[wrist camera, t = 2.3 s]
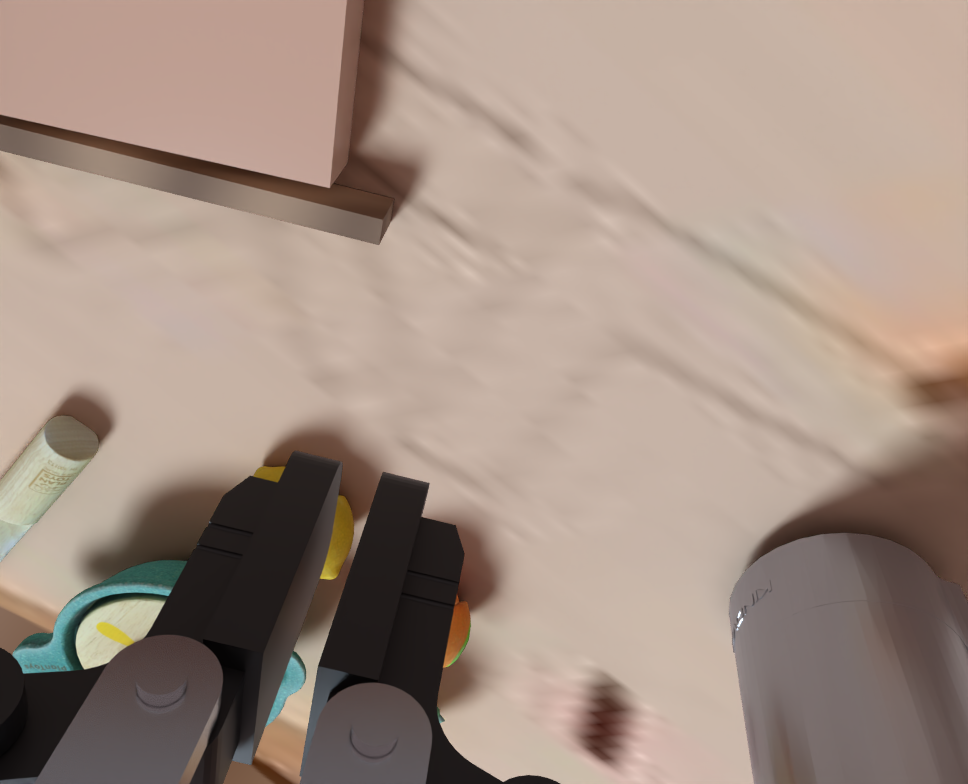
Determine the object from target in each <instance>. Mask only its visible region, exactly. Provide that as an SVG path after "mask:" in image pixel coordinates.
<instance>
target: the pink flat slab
mask: <svg viewBox="0 0 968 784" xmlns="http://www.w3.org/2000/svg"><path fill="white" fill-rule="evenodd" d="M363 9H364V0H0V115H4V116H9V117H13V118H18V119H22V120H27V121H31V122H36V123H40V124H45V125H49V126H54V127H58V128H63V129H67V130H72V131H76V132H81V133H85V134H90V135H94V136H98V137H103V138H107V139H112V140H116V141H121V142H125V143H130V144H134V145H139V146H143V147H148V148H152V149H157V150H161V151H166V152H170V153H175V154H179V155H184V156H188V157H193V158H197V159H201V160H206V161H210V162H215V163H219V164H224V165H228V166H233V167H237V168H242V169H246V170H251V171H255V172H260V173H264V174H269V175H273V176H278V177H282V178H287V179H291V180H295V181H300V182H304V183H309V184H313V185H318V186H322V187H327V188H330V187H331V186H332V184H333V183H334V181H335V180H336V179H337V177H338V176H339V174H340V173H341V172H342V170H343V169H344V167H345V166H346V164H347V163H348V156H349V147H350V137H351V127H352V117H353V107H354V97H355V88H356V78H357V68H358V58H359V48H360V38H361V29H362V19H363Z"/></svg>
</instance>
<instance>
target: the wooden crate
mask: <svg viewBox="0 0 968 784" xmlns="http://www.w3.org/2000/svg"><path fill="white" fill-rule="evenodd" d="M0 151H4V152H8V153H12V154H16V155H20V156H24V157H28V158H32V159H36V160H40V161H44V162H48V163H52V164H56V165H60V166H64V167H68V168H72V169H76V170H80V171H85V172H89V173H93V174H97V175H101V176H105V177H109V178H113V179H117V180H121V181H125V182H129V183H133V184H137V185H141V186H145V187H149V188H153V189H157V190H161V191H165V192H169V193H173V194H177V195H181V196H185V197H189V198H193V199H197V200H201V201H205V202H209V203H213V204H217V205H221V206H225V207H229V208H233V209H237V210H241V211H245V212H249V213H253V214H257V215H261V216H265V217H269V218H273V219H277V220H281V221H285V222H289V223H293V224H297V225H301V226H305V227H309V228H313V229H317V230H321V231H325V232H329V233H333V234H337V235H341V236H345V237H349V238H353V239H357V240H361V241H365V242H369V243H373V244H377V245H379V244H380V242H381V240H382V238H383V236H384V234H385V232H386V230H387V228H388V226H389V225H390V221H391V215H392V209H393V203H394V199H393V198H389V197H385V196H381V195H377V194H373V193H369V192H365V191H361V190H357V189H353V188H349V187H345V186H341V185H337V184H332V186H331V187H330V188H327V187H322V186H318V185H313V184H309V183H304V182H300V181H295V180H291V179H287V178H282V177H278V176H273V175H269V174H264V173H260V172H255V171H251V170H246V169H242V168H237V167H233V166H228V165H224V164H219V163H215V162H210V161H206V160H201V159H197V158H193V157H188V156H184V155H179V154H175V153H170V152H166V151H161V150H157V149H152V148H148V147H143V146H139V145H134V144H130V143H125V142H121V141H116V140H112V139H107V138H103V137H98V136H94V135H90V134H85V133H81V132H76V131H72V130H67V129H63V128H58V127H54V126H49V125H45V124H40V123H36V122H31V121H27V120H22V119H18V118H13V117H9V116H4V115H0Z"/></svg>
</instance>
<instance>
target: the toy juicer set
mask: <svg viewBox="0 0 968 784" xmlns="http://www.w3.org/2000/svg"><path fill="white" fill-rule="evenodd" d="M98 446H99V442H98V438H97V435H96V434H95V432H93V431H92V430H91V429H89V428H88V427H86V426H85V425H83V424H82V423H80V422H79V421H78V420H76V419H75V418H73V417H72V416H56V417H54V418H52V419H50V420H49V421H48V422H47V423H46V425H45V426H44V427H43V428H42V429H41V430H40V432H39V433H38V434H37V435H36V437H35V438H34V439H33V440H32V442H31V443H30V444H29V445H28V447H27V448H26V449H25V450H24V452H23V453H22V454H21V455H20V457H19V458H18V459H17V460H16V462H15V463H14V464H13V465H12V467H11V468H10V469H9V470H8V472H7V473H6V474H5V475H4V477H3V478H2V479H1V480H0V562H1V561H2V559H3V558H4V557H5V556H6V555H7V554H8V553H9V551H10V550H11V549H12V548H13V547H14V546H15V545H16V544H17V542H18V541H19V540H20V539H21V538H22V537H23V536H24V534H25V533H26V532H27V531H28V530H29V529H30V528H31V526H32V525H34V524H35V523H37V522H38V521H39V519H40V518H41V517H42V516H43V515H44V514H45V512H46V511H47V510H48V509H49V508H50V507H51V505H52V504H53V503H54V502H55V501H56V500H57V499H58V498H59V496H60V495H61V494H62V493H63V492H64V491H65V490H66V488H67V487H68V486H69V485H70V484H71V483H72V482H73V481H74V479H75V478H76V477H77V476H78V475H79V474H80V473H81V471H82V470H83V469H84V468H85V467H86V465H87V464H88V463H89V462H90V461H91V459H92V458H93V457H94V456H95V455H96V453H97V451H98ZM284 469H285V467H283V466H279V467H267V466H263V467H260V468H258V469H257V470H256V472H255V474H254V476H253V477H257V478H262V479H266V480H270V481H274V482H278V481H279V479H280V477H281V475H282V473H283V471H284ZM353 535H354V522H353V515H352V511H351V508H350V506H349V504H348V502H347V500H346V498H345V496H341V495H338V500H337V506H336V513H335V519H334V525H333V531H332V537H331V542H330V546H329V550H328V554H327V558H326V561H325V564H324V568H323V571H322V574H321V577H320V579H328V580H331V579H335V578H336V577H337V576H338V574H339V572H340V569H341V567H342V565H343V563H344V561H345V559H346V557H347V556H348V554H349V551H350V549H351V546H352V541H353ZM186 563H187V561H180V560H160V561H153V562H147V563H143V564H140V565H136V566H133V567H131V568H128V569H126V570H123V571H121V572H120V573H118V574H116V575H114V576H112V577H110V578H109V579H107V580H105V581H103V582H102V583H100V584H98V585H94V586H92V587H90V588H88V589H86V590H84V591H82V592H81V593H79V594H78V595H76V596H75V597H74V598H72V599H71V600H70V601H69V602H68V603H67V604H66V606H65V607H64V608H63V609H62V611H61V612H60V613H59V615H58V618H57V620H56V622H55V626H54V632H53V633H50V634H47V633H36V634H33V635H31V636H29V637H27V638H26V639H24V640H23V641H22V642H21V644H20V645H19V646H18V647H17V648H16V649H15V651H14V652H13V657H14V658H15V659H16V660H17V661H18V663H19V664H20V666H21V668H22V671H23V673H40V672H57V671H74V670H83V669H89V668H93V667H97V666H100V665H103V664H106V663H109V662H110V660H111V659H112V658H113V657H114V656H115V655H116V654H117V653H119V652H120V651H121V650H123V649H124V648H125V647H127V646H129V645H131V644H133V643H134V642H137V641H139V640H142V639H143V638H144V637H145V636H146V635H147V633H148V632H149V630H150V629H151V627H152V625H153V623H154V621H155V620H156V618H157V616H158V614H159V612H160V611H161V609H162V607H163V605H164V603H165V601H166V600H167V598H168V596H169V594H170V592H171V590H172V589H173V587H174V585H175V583H176V581H177V580H178V578H179V576H180V574H181V572H182V570H183V569H184V567H185V565H186ZM470 627H471V621H470V612H469V607H468V603H467V602H466V601H460V602H459V599H458V595H457V596H456V601H455V606H454V612H453V617H452V623H451V628H450V633H449V638H448V644H447V649H446V654H445V660H444V665H443V668H445V667H449V666H450V665H451V664H453V663H454V662H455V661H456V660H457V659H458V658H459V656H460V655H461V653H462V652H463V650H464V648H465V646H466V644H467V642H468V640H469V635H470ZM305 680H306V669H305V665H304V663H303V661H302V659H301V658H300V656H299V655H298V654H297V653H296V652H295V651H293V653H292V655H291V658H290V661H289V663H288V666H287V669H286V672H285V674H284V677H283V680H282V683H281V685H280V688H279V691H278V693H277V696H276V699H275V702H274V704H273V707H272V710H271V712H270V715H269V718H268V721H267V723H266V726H267V725H268V724H270V723H271V722H272V721H273V720H274V719H275V718H276V717H277V716H278V715H279V714H280V712H281V710H282V708H283V707H284V704H285V701H286V699H287V697H288V696H289V695H291V694H293V693H295V692H297V691H298V690H299V689H301V687H302V686H303V684H304V683H305ZM437 713H438V718H439V722H440V723H441V722H444V721H445V720H444V719H443V717H442V716H441V715H440V710H439V708H438V707H437ZM266 726H265V727H266Z"/></svg>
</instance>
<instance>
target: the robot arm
mask: <svg viewBox="0 0 968 784" xmlns="http://www.w3.org/2000/svg"><path fill="white" fill-rule="evenodd" d="M342 468H343V463H342V462H340V461H336V460H332V459H328V458H324V457H319V456H315V455H311V454H307V453H303V452H299V451H294V452H293V453H292V455H291V456H290V458H289V460H288V463H287V465H286V467H285V469H284V471H283V473H282V475H281V477H280V479H279V481H278V482H274V481H270V480H266V479H262V478H257V477H253V476H249V477H248V478H247V479H245V480H244V481H243V482H241V483H240V484H239V485H237V486H236V487H235V488H233V489H232V490H230V491H229V492H228V493H226V494H225V495H224V496H223V498H222V500H221V501H220V503H219V505H218V507H217V509H216V510H215V512H214V514H213V516H212V518H211V520H210V521H209V525H208V527H206V529H205V530H204V532H203V534H202V536H201V538H200V540H199V541H198V543H197V547H196V549H194V550H193V552H192V554H191V556H190V558H189V560H188V561H187V563H186V565H185V567H184V569H183V570H182V572H181V574H180V576H179V578H178V580H177V581H176V583H175V585H174V587H173V589H172V590H171V592H170V594H169V596H168V598H167V600H166V601H165V603H164V605H163V607H162V609H161V611H160V612H159V614H158V616H157V618H156V620H155V621H154V623H153V625H152V627H151V629H150V630H149V632H148V633H147V635H146V636H145V637H144V638H143V639H142V640H139V641H137V642H134V643H133V644H131V645H129V646H127V647H125V648H124V649H123V650H121V651H120V652H119V653H117V654H116V655H115V656H114V657H113V658H112V659H111V660H110V662H109V663H106V664H103V665H100V666H97V667H93V668H89V669H83V670H74V671H57V672H40V673H23V671H22V668H21V666H20V664H19V663H18V661H17V660H16V659H15V658H14V657H13V656H12V655H11V654H10V653H8V652H7V651H5V650H4V649H2V648H0V784H223V782H224V779H225V777H226V774H227V772H228V769H229V766H230V764H231V762H232V761H236V762H241V763H245V764H249V765H251V764H252V761H253V759H254V756H255V753H256V750H257V748H258V745H259V742H260V740H261V737H262V734H263V731H264V729H265V726H266V723H267V721H268V718H269V715H270V712H271V710H272V707H273V704H274V702H275V699H276V696H277V693H278V691H279V688H280V685H281V683H282V680H283V677H284V674H285V672H286V669H287V666H288V663H289V661H290V658H291V655H292V653H293V650H294V647H295V644H296V642H297V639H298V636H299V634H300V631H301V628H302V625H303V623H304V620H305V617H306V615H307V612H308V609H309V606H310V604H311V601H312V598H313V596H314V593H315V590H316V587H317V585H318V582H319V579H320V577H321V574H322V571H323V568H324V564H325V561H326V558H327V554H328V550H329V546H330V542H331V537H332V531H333V525H334V519H335V513H336V506H337V500H338V494H339V488H340V481H341V475H342ZM429 484H430V483H427V482H423V481H419V480H414V479H410V478H406V477H402V476H398V475H394V474H390V473H386V472H383V474H382V476H381V479H380V482H379V485H378V488H377V491H376V494H375V497H374V500H373V503H372V506H371V509H370V512H369V515H368V518H367V521H366V524H365V527H364V530H363V533H362V536H361V539H360V542H359V545H358V548H357V551H356V554H355V557H354V560H353V563H352V566H351V569H350V572H349V575H348V578H347V581H346V584H345V587H344V590H343V593H342V596H341V599H340V602H339V605H338V608H337V611H336V614H335V617H334V620H333V623H332V626H331V629H330V632H329V635H328V638H327V641H326V644H325V647H324V650H323V653H322V656H321V659H320V662H319V665H318V670H317V676H316V682H315V688H314V694H313V700H312V706H311V711H310V717H309V723H308V729H307V735H306V741H305V747H304V753H303V759H302V765H301V771H300V776H301V781H300V784H560V783H558V782H556V781H554V780H551V779H549V778H545V777H541V776H532V775H526V776H518V777H514V778H511V779H508V780H507V781H505V782H502V781H500V780H499V779H497V778H495V777H494V776H492V775H490V774H489V773H487V772H485V771H484V770H482V769H480V768H479V767H477V766H475V765H474V764H472V763H471V762H469V761H468V760H467V759H465V758H464V757H463V756H462V755H461V754H460V753H458V752H457V751H456V750H455V748H454V747H453V746H452V745H451V743H450V742H449V741H448V739H447V737H446V736H445V734H444V732H443V730H442V727H441V725H440V722H439V718H438V713H437V698H438V691H439V686H440V681H441V675H442V670H443V665H444V660H445V654H446V649H447V644H448V638H449V633H450V628H451V623H452V617H453V612H454V606H455V601H456V596H457V591H458V584H459V580H460V575H461V570H462V564H463V559H464V554H465V553H464V550H463V547H462V544H461V541H460V538H459V535H458V532H457V528H456V525H452V524H448V523H444V522H440V521H436V520H431V519H427V518H423V517H422V514H423V510H424V505H425V501H426V497H427V493H428V489H429ZM729 617H730V624H731V631H732V645H733V652H734V653H735V658H736V665H737V671H738V678H739V686H740V693H741V700H742V707H743V713H744V720H745V727H746V733H747V740H748V747H749V754H750V760H751V767H752V774H753V780H754V784H968V602H967V600H966V598H965V595H964V593H963V591H962V589H961V586H960V585H958V584H956V583H952V582H948V581H945V580H942V579H940V578H939V577H938V576H937V575H936V574H935V573H934V572H933V571H932V569H931V568H930V567H929V565H928V564H927V563H926V562H925V560H923V559H922V558H921V557H920V556H918V555H917V554H916V553H914V552H913V551H912V550H910V549H909V548H906V547H904V546H902V545H900V544H898V543H896V542H893V541H891V540H888V539H884V538H880V537H876V536H872V535H866V534H855V533H833V534H821V535H816V536H811V537H807V538H802V539H798V540H795V541H793V542H790V543H788V544H785V545H782V546H780V547H777V548H776V549H774V550H772V551H771V552H769V553H767V554H765V555H764V556H762V557H760V558H759V559H758V560H757V561H756V562H754V563H753V564H752V565H751V566H750V567H749V568H748V569H746V570H745V572H744V573H743V575H742V576H741V577H740V579H739V580H738V581H737V583H736V584H735V587H734V589H733V592H732V594H731V597H730V604H729Z"/></svg>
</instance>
